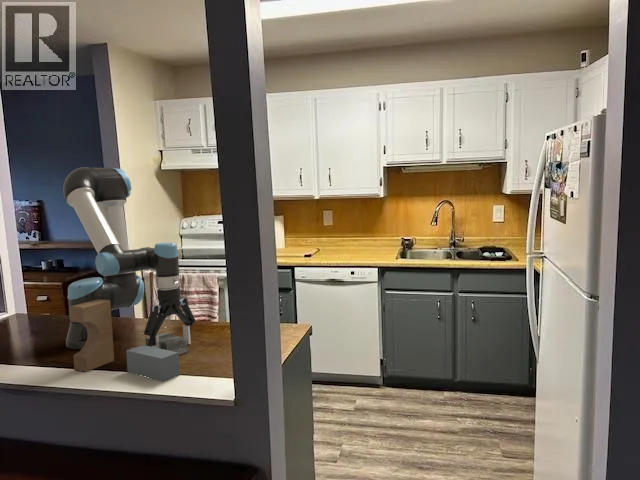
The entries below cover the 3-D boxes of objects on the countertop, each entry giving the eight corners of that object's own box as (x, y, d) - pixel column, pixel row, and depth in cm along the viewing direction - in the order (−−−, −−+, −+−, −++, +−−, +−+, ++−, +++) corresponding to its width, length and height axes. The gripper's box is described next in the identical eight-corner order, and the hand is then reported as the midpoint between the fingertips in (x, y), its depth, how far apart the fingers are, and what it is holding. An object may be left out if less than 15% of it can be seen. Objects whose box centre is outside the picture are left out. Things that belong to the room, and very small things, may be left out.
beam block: (127, 373, 147) (126, 350, 146) (144, 367, 152) (143, 345, 151) (163, 382, 138) (161, 358, 138) (179, 375, 143) (178, 352, 143)
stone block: (169, 344, 175) (168, 330, 175) (191, 352, 165) (190, 337, 165) (145, 350, 169) (145, 336, 168) (167, 359, 159) (166, 343, 158)
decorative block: (85, 372, 148) (81, 307, 146) (73, 370, 150) (68, 306, 149) (115, 361, 158) (111, 300, 156) (103, 359, 160) (98, 299, 159)
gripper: (145, 295, 154) (149, 361, 156) (203, 282, 175) (206, 340, 177) (130, 293, 158) (134, 357, 160) (188, 281, 179) (191, 338, 181)
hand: (172, 349), depth 168 cm, fingers open, 13 cm apart
